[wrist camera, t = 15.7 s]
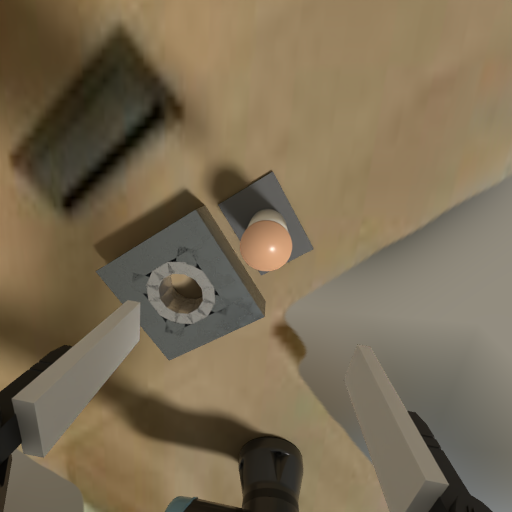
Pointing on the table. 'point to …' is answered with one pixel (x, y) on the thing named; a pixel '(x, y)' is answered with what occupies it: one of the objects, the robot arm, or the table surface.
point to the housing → (195, 266)
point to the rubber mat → (259, 198)
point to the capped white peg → (266, 241)
